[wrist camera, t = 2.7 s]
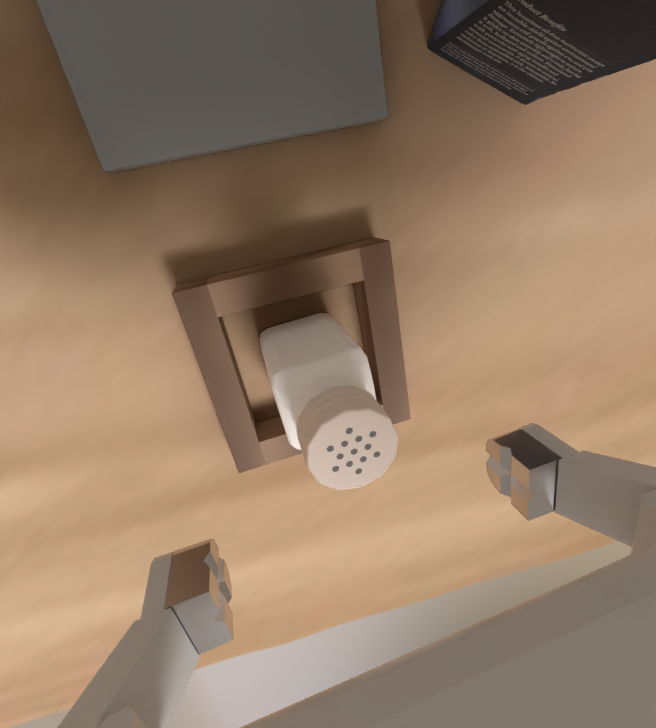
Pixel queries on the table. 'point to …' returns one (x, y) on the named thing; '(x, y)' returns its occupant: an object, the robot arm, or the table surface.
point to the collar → (278, 283)
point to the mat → (215, 72)
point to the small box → (544, 41)
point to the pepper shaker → (328, 401)
